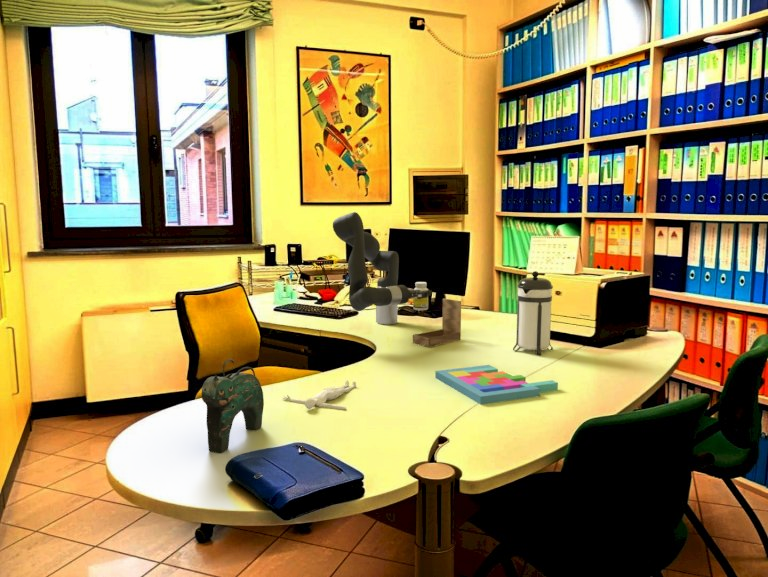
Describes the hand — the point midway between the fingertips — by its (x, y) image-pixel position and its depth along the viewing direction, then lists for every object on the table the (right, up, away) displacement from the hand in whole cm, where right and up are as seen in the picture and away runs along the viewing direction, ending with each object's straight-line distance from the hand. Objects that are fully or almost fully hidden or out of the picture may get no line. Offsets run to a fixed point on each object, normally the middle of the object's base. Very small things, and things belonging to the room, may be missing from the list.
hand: (425, 291), depth 255 cm
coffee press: (+40, -22, -21) cm, 50 cm away
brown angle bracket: (+4, -20, -7) cm, 22 cm away
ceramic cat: (-52, -35, -108) cm, 125 cm away
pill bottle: (-2, -7, -1) cm, 8 cm away
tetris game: (+18, -29, -65) cm, 74 cm away
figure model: (-33, -31, -77) cm, 89 cm away
